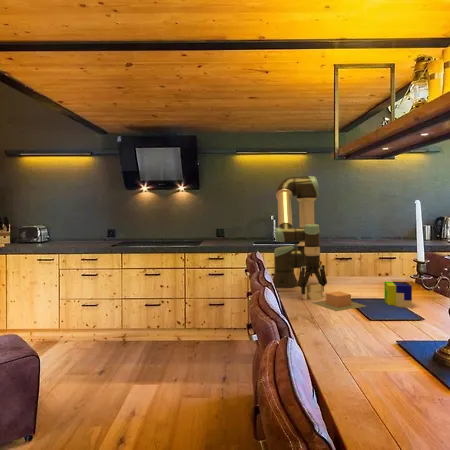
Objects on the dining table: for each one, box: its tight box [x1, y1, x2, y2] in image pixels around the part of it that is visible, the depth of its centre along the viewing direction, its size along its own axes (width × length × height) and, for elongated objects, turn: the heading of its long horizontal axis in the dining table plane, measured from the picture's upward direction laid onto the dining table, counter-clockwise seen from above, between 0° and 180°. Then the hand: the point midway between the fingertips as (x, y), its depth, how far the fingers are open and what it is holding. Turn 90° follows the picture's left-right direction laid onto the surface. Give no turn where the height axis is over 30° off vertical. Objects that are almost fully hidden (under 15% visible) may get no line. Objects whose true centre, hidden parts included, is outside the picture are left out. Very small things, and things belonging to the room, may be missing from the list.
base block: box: [325, 290, 352, 307], centre depth 191 cm, size 8×8×5 cm
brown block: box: [305, 282, 322, 301], centre depth 205 cm, size 6×6×8 cm
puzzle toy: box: [384, 281, 413, 309], centre depth 192 cm, size 10×10×10 cm
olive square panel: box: [312, 300, 366, 312], centre depth 191 cm, size 18×18×1 cm
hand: (312, 299), depth 205 cm, fingers open, 9 cm apart
